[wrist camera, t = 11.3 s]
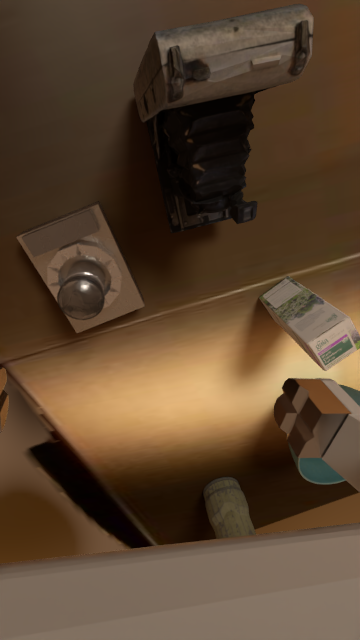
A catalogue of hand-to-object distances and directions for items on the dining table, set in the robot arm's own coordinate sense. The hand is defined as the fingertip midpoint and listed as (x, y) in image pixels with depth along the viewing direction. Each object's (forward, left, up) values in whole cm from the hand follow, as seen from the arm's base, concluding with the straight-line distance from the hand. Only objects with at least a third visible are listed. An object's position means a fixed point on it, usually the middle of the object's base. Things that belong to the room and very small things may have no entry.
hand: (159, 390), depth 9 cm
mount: (+5, -7, -34) cm, 35 cm away
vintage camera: (-3, +10, -34) cm, 35 cm away
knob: (+5, -8, -31) cm, 32 cm away
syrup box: (+21, +18, -34) cm, 43 cm away
